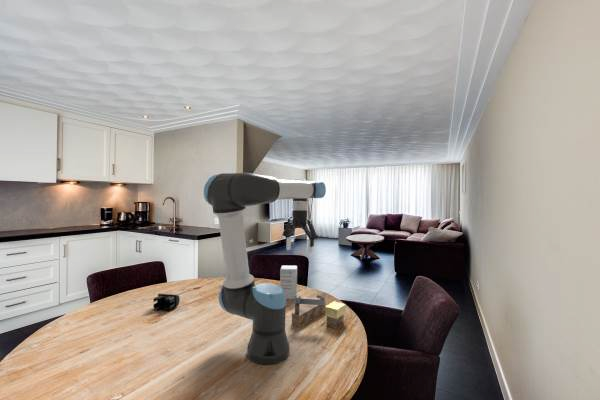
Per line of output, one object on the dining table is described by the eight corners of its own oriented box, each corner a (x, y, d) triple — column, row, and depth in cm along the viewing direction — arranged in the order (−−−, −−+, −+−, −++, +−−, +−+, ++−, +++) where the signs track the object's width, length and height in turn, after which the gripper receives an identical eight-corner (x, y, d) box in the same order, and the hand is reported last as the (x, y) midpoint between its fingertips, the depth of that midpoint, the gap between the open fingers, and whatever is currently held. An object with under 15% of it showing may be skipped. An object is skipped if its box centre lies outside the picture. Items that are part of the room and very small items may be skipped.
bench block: (335, 327, 120) (335, 318, 120) (326, 325, 123) (326, 316, 123) (343, 321, 127) (343, 312, 127) (335, 319, 129) (335, 310, 129)
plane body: (299, 327, 120) (299, 305, 120) (291, 324, 123) (292, 303, 123) (325, 311, 138) (325, 292, 138) (318, 309, 140) (318, 290, 140)
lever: (293, 304, 121) (293, 295, 121) (294, 301, 124) (294, 293, 124) (324, 306, 119) (324, 297, 119) (324, 303, 122) (324, 295, 122)
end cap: (179, 306, 141) (180, 293, 141) (171, 312, 134) (171, 298, 134) (161, 305, 142) (161, 292, 142) (152, 310, 135) (152, 296, 135)
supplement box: (296, 300, 153) (296, 269, 153) (279, 299, 153) (280, 268, 153) (296, 294, 163) (297, 265, 163) (281, 293, 163) (281, 264, 163)
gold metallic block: (337, 319, 120) (337, 309, 120) (325, 315, 123) (325, 306, 123) (345, 313, 126) (345, 304, 126) (333, 309, 130) (333, 301, 130)
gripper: (324, 210, 137) (324, 253, 137) (285, 208, 152) (284, 247, 152) (316, 210, 131) (315, 255, 131) (276, 209, 146) (275, 249, 146)
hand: (299, 251), depth 142 cm, fingers open, 13 cm apart
